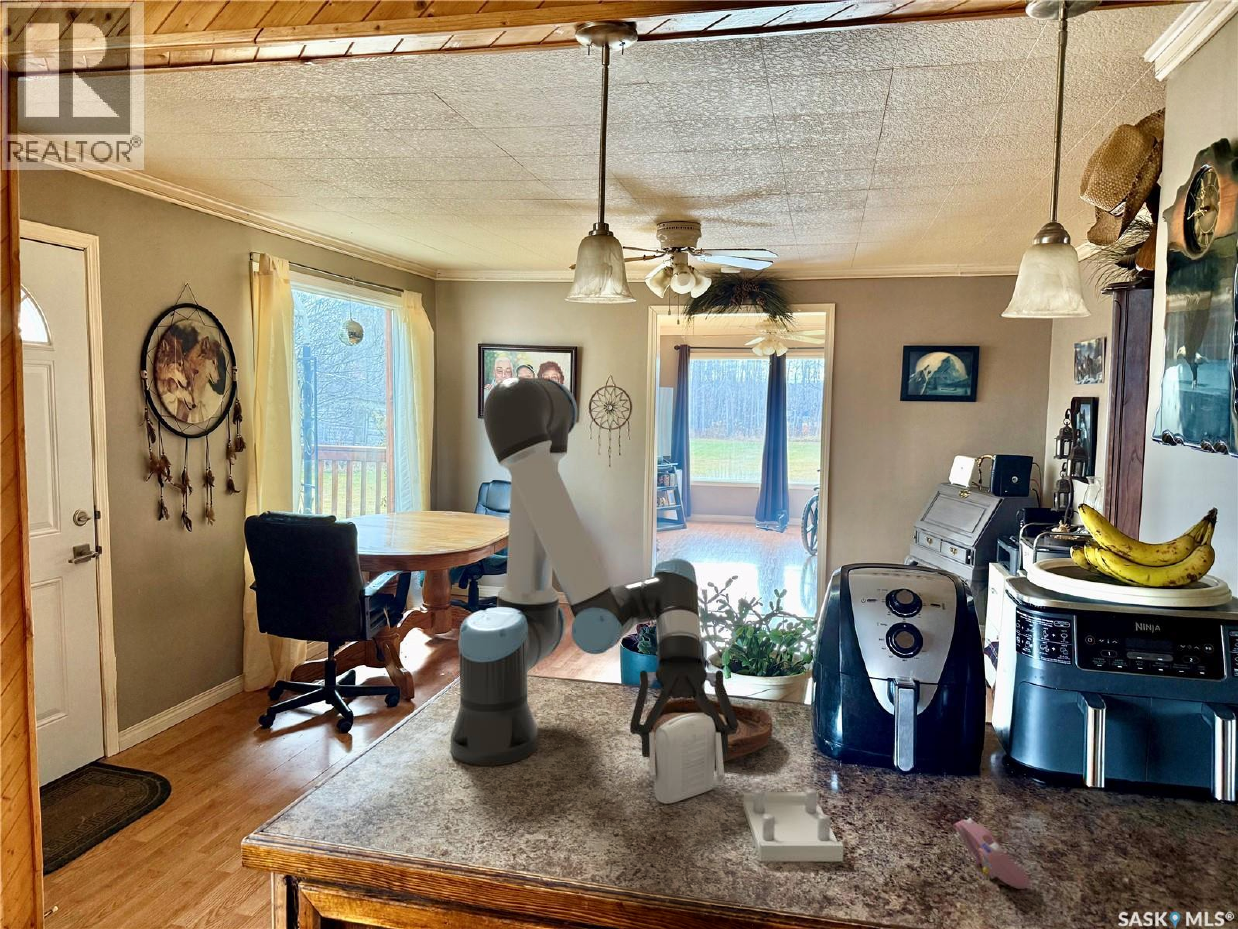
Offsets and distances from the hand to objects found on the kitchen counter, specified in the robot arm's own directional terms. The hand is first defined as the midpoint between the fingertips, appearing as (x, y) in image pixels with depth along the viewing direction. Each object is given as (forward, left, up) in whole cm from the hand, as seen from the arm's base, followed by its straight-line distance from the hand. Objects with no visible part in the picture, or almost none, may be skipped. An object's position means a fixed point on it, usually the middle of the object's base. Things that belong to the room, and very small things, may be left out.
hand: (686, 778), depth 119 cm
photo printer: (-3, 0, -4) cm, 5 cm away
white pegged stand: (+8, +14, -4) cm, 17 cm away
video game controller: (+17, +38, -4) cm, 42 cm away
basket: (-22, +6, -4) cm, 23 cm away
